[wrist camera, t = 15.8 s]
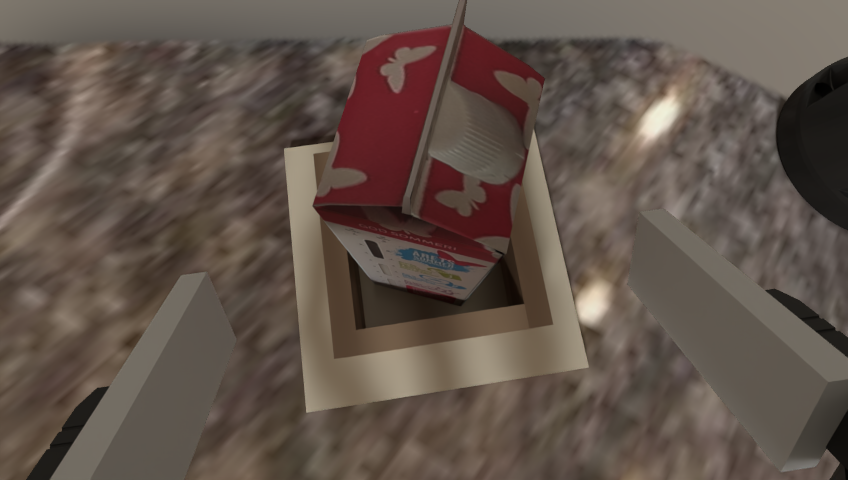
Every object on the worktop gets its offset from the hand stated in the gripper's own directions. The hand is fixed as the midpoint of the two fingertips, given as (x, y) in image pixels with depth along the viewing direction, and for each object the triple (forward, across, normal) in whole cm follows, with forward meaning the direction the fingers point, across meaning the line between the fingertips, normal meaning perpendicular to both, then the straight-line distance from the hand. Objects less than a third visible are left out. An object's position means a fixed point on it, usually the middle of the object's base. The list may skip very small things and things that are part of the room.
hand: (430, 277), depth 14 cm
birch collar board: (+18, +1, -11) cm, 21 cm away
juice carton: (+17, +1, -10) cm, 20 cm away
